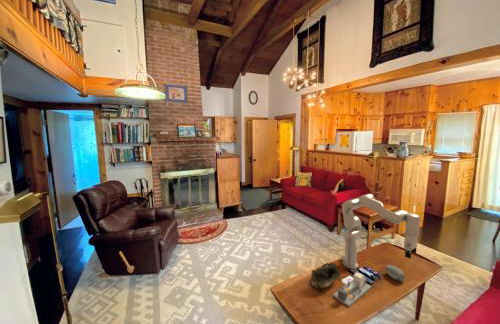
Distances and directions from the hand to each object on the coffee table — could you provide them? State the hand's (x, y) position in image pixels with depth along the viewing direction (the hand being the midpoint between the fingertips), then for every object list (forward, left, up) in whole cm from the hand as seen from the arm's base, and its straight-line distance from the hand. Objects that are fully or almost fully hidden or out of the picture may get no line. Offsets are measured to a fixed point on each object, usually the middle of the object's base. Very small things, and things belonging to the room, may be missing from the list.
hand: (410, 255), depth 141 cm
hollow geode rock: (-42, -38, -31) cm, 64 cm away
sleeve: (-24, -21, -28) cm, 43 cm away
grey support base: (-24, -29, -30) cm, 49 cm away
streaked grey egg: (-13, +13, -31) cm, 36 cm away
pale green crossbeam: (-24, -29, -27) cm, 47 cm away
